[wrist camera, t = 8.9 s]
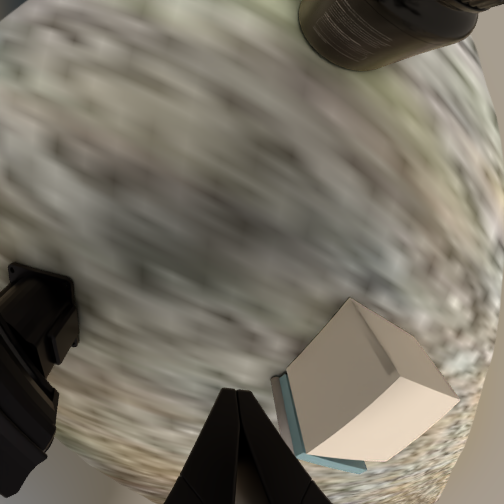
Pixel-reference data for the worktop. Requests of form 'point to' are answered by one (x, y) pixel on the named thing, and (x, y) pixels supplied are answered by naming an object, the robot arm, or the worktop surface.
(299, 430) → the flap
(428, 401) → the carton
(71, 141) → the worktop surface
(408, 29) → the supplement bottle
